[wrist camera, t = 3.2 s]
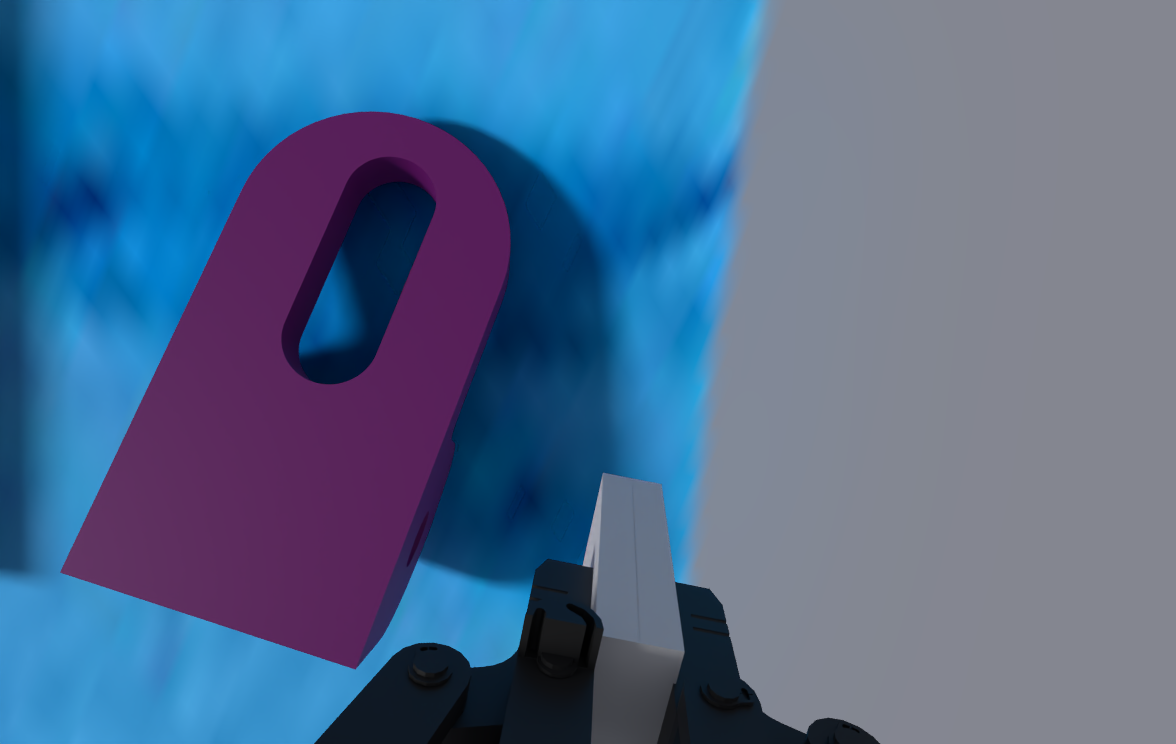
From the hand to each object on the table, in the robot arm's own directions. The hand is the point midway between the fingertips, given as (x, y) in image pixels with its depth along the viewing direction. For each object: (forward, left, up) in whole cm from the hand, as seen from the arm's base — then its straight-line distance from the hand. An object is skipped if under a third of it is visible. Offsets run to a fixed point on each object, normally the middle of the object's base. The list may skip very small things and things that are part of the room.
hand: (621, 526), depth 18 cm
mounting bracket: (0, +10, -12) cm, 16 cm away
